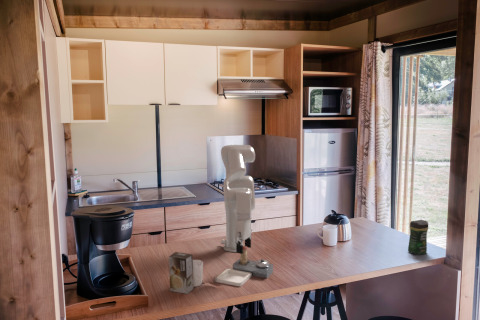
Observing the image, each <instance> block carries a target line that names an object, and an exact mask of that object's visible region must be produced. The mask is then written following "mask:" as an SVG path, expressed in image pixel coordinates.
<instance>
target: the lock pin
mask: <svg viewBox="0 0 480 320" xmlns="http://www.w3.org/2000/svg"><path fill="white" fill-rule="evenodd" d="M239 259H240V264H244V265H246V264H247V260H248V247H247V246H243V253H242V254H240V253H239Z"/></svg>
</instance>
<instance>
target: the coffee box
mask: <svg viewBox="0 0 480 320" xmlns="http://www.w3.org/2000/svg"><path fill="white" fill-rule="evenodd" d="M193 260H194V259H193V254H192V253H186V252H177V251H174V252H173V253H171V254H170V255H169V256H168V268H169V269H168V273H169V292H174V293H181V294H185V295H187V294H190V292H191V291H192V290H193V289H194V286H193Z"/></svg>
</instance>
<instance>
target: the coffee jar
mask: <svg viewBox="0 0 480 320" xmlns="http://www.w3.org/2000/svg"><path fill="white" fill-rule="evenodd" d="M428 230H429V222H428V221H427V220H424V219H418V220H411V221H410V223H409V241H408V248H407V251H408V252H409V253H410V252H411V253H410V254H412V253H413V255H417V254H419V255H423V254H424V253H425V254H427V253H428V245H427V243H428V242H427V240H428V239H427V237H428V236H427V235H428Z"/></svg>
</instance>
